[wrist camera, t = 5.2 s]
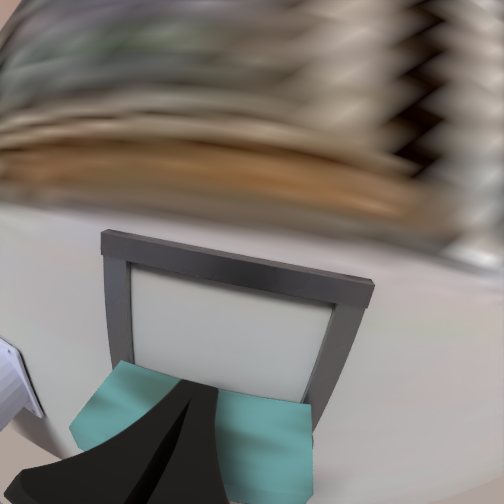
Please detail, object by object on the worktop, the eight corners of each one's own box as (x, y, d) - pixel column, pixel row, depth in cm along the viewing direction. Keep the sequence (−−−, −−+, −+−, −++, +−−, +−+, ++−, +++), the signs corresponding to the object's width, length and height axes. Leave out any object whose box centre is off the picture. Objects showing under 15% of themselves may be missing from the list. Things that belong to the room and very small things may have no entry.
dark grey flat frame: (137, 468, 18) (135, 473, 17) (108, 229, 12) (100, 232, 11) (271, 500, 17) (270, 506, 16) (371, 279, 11) (374, 285, 10)
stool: (136, 471, 17) (114, 517, 12) (111, 356, 13) (57, 420, 8) (269, 504, 16) (262, 555, 11) (323, 406, 12) (328, 494, 7)
